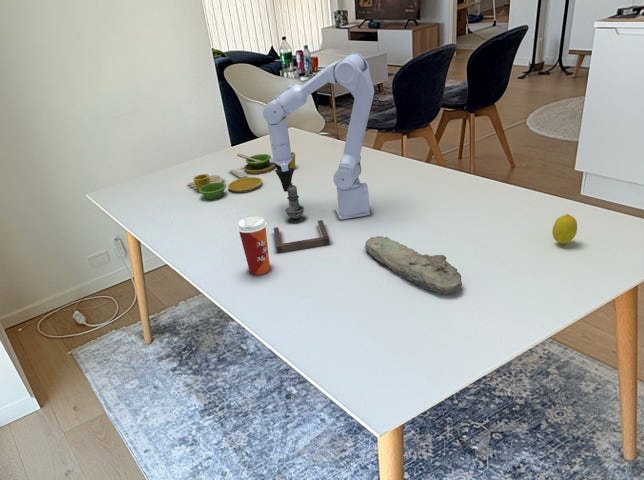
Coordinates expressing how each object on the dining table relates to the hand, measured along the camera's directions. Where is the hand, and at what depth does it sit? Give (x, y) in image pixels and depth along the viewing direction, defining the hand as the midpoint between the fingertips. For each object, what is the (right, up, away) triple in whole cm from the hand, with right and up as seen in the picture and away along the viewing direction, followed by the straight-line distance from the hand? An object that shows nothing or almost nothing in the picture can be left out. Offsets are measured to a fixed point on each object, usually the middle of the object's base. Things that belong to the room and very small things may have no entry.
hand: (286, 186), depth 179 cm
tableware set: (-16, +14, +37) cm, 43 cm away
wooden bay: (+4, -19, -12) cm, 22 cm away
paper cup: (-7, -30, -24) cm, 39 cm away
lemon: (+70, -26, -36) cm, 83 cm away
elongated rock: (+31, -32, -35) cm, 57 cm away
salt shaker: (+3, -11, 0) cm, 11 cm away
